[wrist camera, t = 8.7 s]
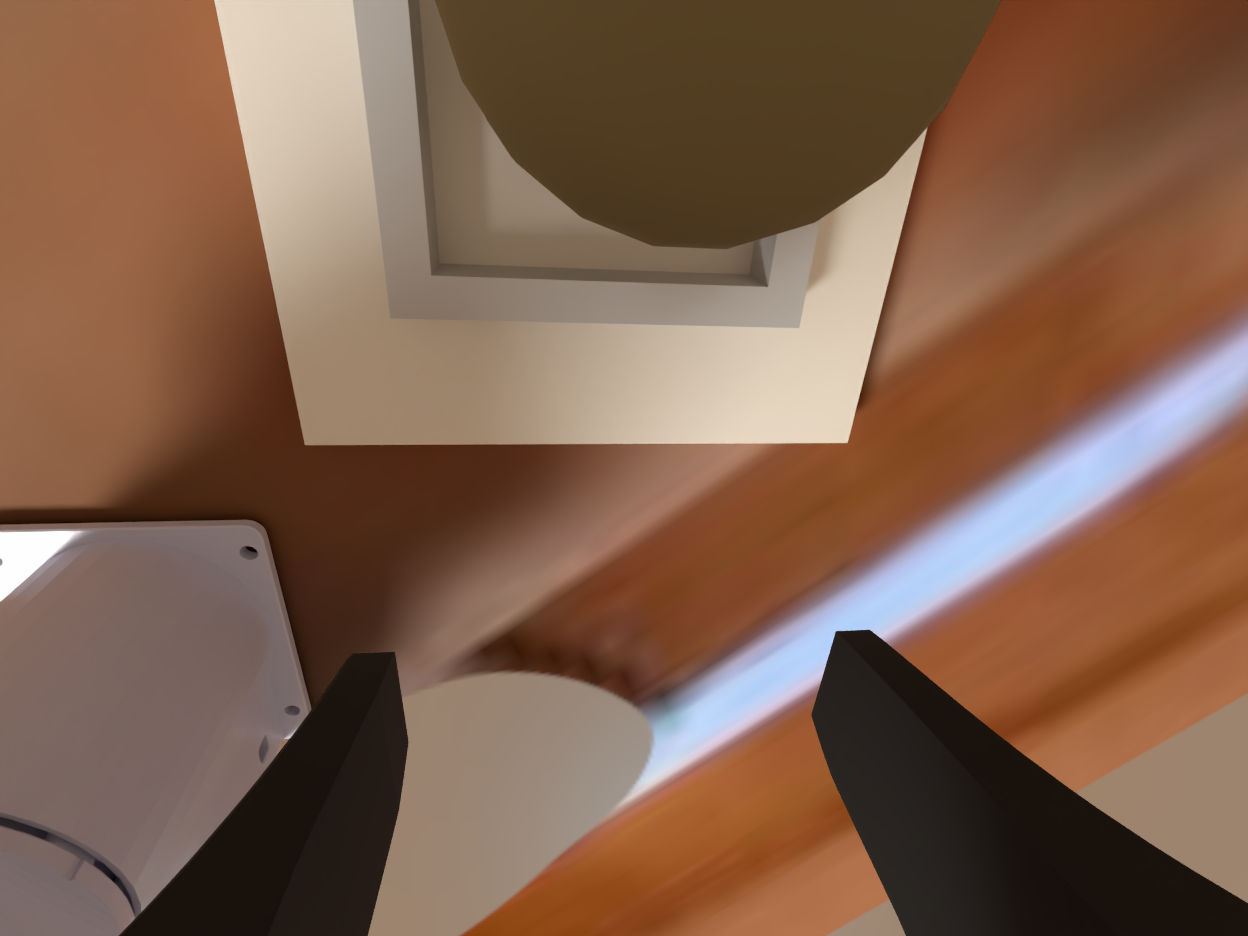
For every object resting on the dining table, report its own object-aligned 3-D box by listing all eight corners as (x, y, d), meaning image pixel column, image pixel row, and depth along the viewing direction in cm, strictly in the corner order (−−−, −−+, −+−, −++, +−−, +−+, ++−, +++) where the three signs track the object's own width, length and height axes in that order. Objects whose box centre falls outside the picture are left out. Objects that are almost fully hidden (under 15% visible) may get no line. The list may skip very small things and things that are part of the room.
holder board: (831, 426, 20) (870, 465, 18) (318, 427, 18) (286, 471, 16) (1032, -419, 12) (1153, -552, 10) (120, -618, 10) (-10, -855, 7)
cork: (737, -137, 13) (1413, -1014, 3) (739, 188, 15) (1080, 281, 6) (437, -112, 12) (79, -1033, 3) (497, 217, 15) (440, 369, 5)
